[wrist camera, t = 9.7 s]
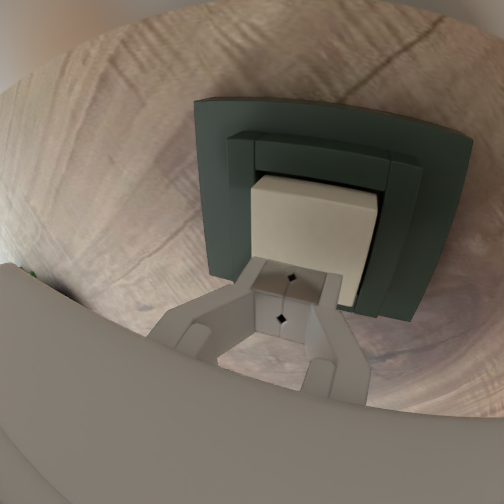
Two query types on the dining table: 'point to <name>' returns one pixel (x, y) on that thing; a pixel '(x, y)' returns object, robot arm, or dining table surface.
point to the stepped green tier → (338, 174)
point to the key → (314, 227)
